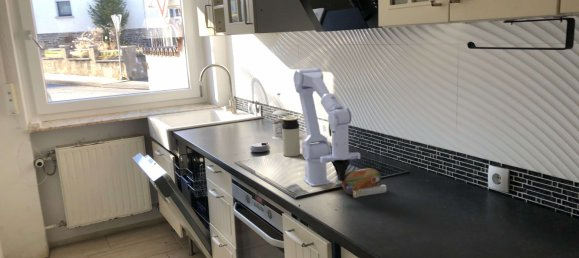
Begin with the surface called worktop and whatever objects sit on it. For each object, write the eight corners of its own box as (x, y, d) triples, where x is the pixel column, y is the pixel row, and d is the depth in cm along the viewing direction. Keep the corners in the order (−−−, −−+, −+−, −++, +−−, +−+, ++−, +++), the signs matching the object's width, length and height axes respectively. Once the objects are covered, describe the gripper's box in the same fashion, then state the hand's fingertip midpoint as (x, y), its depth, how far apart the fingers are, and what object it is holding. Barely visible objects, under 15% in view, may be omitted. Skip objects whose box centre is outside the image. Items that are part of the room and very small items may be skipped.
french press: (269, 136, 272) (266, 92, 267) (287, 134, 277) (285, 91, 272) (275, 140, 264) (273, 94, 259) (295, 137, 268) (293, 92, 263)
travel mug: (285, 157, 226) (284, 119, 222) (281, 153, 233) (280, 117, 230) (302, 155, 228) (300, 118, 224) (297, 152, 235) (296, 115, 232)
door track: (342, 189, 177) (342, 183, 177) (374, 185, 181) (374, 178, 181) (354, 197, 168) (354, 191, 168) (387, 192, 172) (387, 186, 172)
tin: (345, 196, 170) (344, 173, 168) (340, 194, 173) (340, 171, 171) (381, 190, 176) (381, 167, 174) (376, 187, 178) (376, 165, 177)
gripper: (325, 147, 162) (326, 186, 165) (364, 142, 167) (364, 180, 169) (317, 143, 169) (318, 180, 172) (355, 139, 173) (355, 175, 176)
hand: (340, 180), depth 171 cm, fingers closed
